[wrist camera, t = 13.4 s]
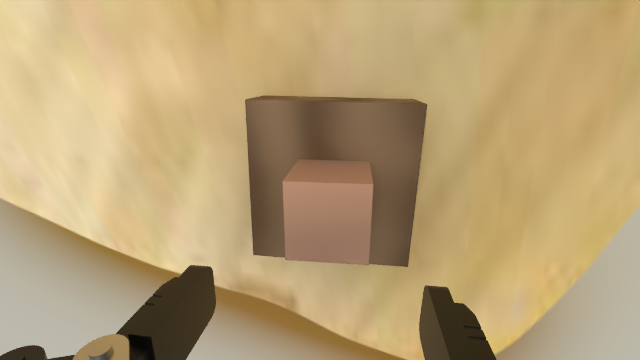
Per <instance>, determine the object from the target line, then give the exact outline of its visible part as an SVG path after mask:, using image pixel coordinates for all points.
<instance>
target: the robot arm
mask: <svg viewBox="0 0 640 360" xmlns="http://www.w3.org/2000/svg"><path fill="white" fill-rule="evenodd" d="M215 305H216V298H215V288H214V278H213V270H212V268H211V267H208V266H196V265H190V266H189V267H188V268H187V269H186V270H185V271H184V272H183V273H182V275H181V276H180V277H175V278H173V279H171V280H170V281H168V282H167V283H165V284H163V285H162V286H161V287H160V288H159V289H158V290H157V291H156V292H155V293H154V294H153V296H152V297H150V298H149V299H148V300H147V301H146V302H145V305H143V306H142V307H141V308H140V309H139V310H138V311H137V312H136V313H135V314H134V315H133V316H132V317H131V318H130V320H128V321H127V322H126V323H125V325H124V326H123V327H122V328H121V329H120V330H119V331H118V332H117V333H116V334H111V335H107V336H103V337H100V338H97V339H96V340H93V341H91V342H90V343H88V344H87V345H85V346H84V347H83V348H81V349H80V350H79V351H78V352H77V353H76V355H71V356H65V357H58V358H52V359H47V357H46V353H45V351H44V349H43V348H42V347H40V346H35V345H34V346H33V345H32V346H25V347H20V348H17V349H15V350H12V351H9V352H7V353H5V354H3V355H1V356H0V360H186V358H187V357H188V355H189V353H190V352H191V350H192V349H193V347H194V345H195V344H196V342H197V340H198V339H199V337H200V335H201V334H202V332H203V331H204V329H205V327H206V326H207V324H208V322H209V321H210V319H211V318H212V316H213V313H214V310H215ZM419 331H420V340H421V344H422V349H423V353H424V357H425V360H496V358H495V356H494V354H493V351H492V349H491V347H490V345H489V343H488V341H486V337H485V335H484V333H483V330H481V326H480V324H479V322H478V320H477V318H476V316H475V314H474V313H473V312H472V311H471V310H470V309H469V308H468V307H467V306H466V305H465V304H461V303H454V301H453V299H452V296H451V294H450V291H449V289H448V288H447V287H437V286H425V287H424V292H423V299H422V307H421V314H420V323H419Z"/></svg>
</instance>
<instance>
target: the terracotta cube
mask: <svg viewBox="0 0 640 360" xmlns="http://www.w3.org/2000/svg"><path fill="white" fill-rule="evenodd" d="M372 199H373V179H372V173H371V166H370V161H338V160H302V159H298V160H297V162H296V163H295V165H294V166H293V167H292V169H291V170H290V172H289V173H288V174H287V176H286V177H285V179H284V180H283V206H284V233H285V260H297V261H314V262H330V263H346V264H363V265H369V254H370V236H371V217H372Z"/></svg>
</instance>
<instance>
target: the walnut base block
mask: <svg viewBox="0 0 640 360" xmlns="http://www.w3.org/2000/svg"><path fill="white" fill-rule="evenodd" d="M245 104H246V123H247V142H248V160H249V179H250V198H251V217H252V235H253V254H254V255H260V256H273V257H285V233H284V206H283V180H284V179H285V177H286V176H287V174H288V173H289V172H290V170H291V169H292V167H293V166H294V165H295V163H296V162H297V160H298V159H302V160H338V161H370V166H371V173H372V179H373V199H372V217H371V236H370V254H369V264H378V265H391V266H404V267H408V261H409V252H410V244H411V236H412V227H413V219H414V210H415V202H416V194H417V185H418V177H419V168H420V160H421V152H422V143H423V135H424V126H425V118H426V110H427V104H425V103H422V102H420V101H417V100H414V99H375V98H335V97H296V96H260V97H255V98H251V99H246V100H245Z"/></svg>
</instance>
